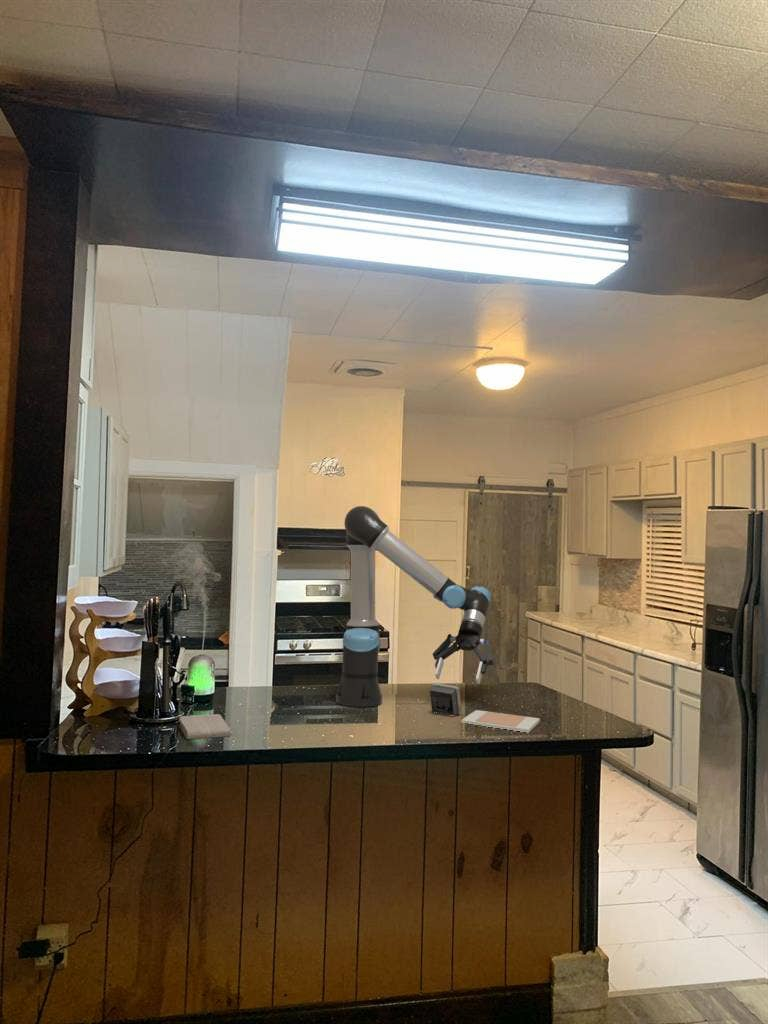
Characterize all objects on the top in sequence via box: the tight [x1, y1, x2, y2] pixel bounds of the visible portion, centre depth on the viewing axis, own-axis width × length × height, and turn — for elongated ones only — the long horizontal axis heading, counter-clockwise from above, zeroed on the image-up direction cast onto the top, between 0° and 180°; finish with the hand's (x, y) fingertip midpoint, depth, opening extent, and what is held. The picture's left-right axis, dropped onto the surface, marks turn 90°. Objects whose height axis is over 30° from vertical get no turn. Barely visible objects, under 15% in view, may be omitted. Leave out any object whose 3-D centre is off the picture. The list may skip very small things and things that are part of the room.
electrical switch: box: [429, 682, 462, 717], centre depth 223 cm, size 9×5×9 cm, turn 57°
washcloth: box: [179, 713, 232, 740], centre depth 196 cm, size 12×18×3 cm, turn 24°
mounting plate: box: [460, 709, 541, 734], centre depth 214 cm, size 20×15×1 cm
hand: (457, 679), depth 228 cm, fingers open, 13 cm apart
